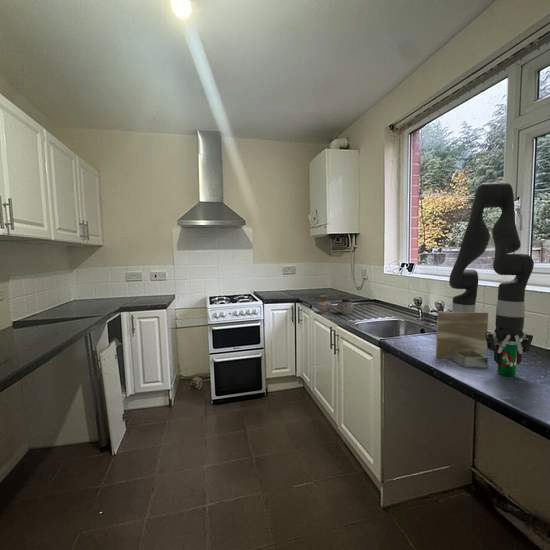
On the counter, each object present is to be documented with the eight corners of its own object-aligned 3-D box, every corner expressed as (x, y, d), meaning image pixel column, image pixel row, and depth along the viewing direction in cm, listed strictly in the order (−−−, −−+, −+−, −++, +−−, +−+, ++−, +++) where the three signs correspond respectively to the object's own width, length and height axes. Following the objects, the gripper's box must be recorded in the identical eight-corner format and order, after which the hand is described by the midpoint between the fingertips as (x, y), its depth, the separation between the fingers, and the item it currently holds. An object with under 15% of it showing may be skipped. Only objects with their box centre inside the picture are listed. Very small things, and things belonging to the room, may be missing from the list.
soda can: (508, 371, 105) (510, 337, 105) (519, 377, 100) (522, 342, 99) (493, 371, 106) (495, 337, 105) (504, 377, 101) (506, 341, 100)
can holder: (450, 357, 120) (450, 348, 119) (472, 358, 119) (472, 349, 118) (462, 366, 110) (463, 357, 110) (487, 367, 109) (487, 358, 109)
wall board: (435, 355, 122) (437, 311, 120) (483, 357, 120) (486, 312, 118) (437, 357, 120) (439, 312, 119) (485, 358, 118) (488, 313, 117)
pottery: (317, 311, 213) (317, 294, 212) (354, 312, 208) (354, 295, 207) (316, 314, 202) (316, 296, 201) (355, 316, 197) (355, 297, 196)
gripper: (525, 312, 104) (522, 360, 106) (480, 311, 106) (478, 358, 107) (541, 316, 97) (538, 368, 98) (493, 315, 98) (491, 366, 100)
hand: (507, 363), depth 103 cm, fingers closed on soda can, 5 cm apart
